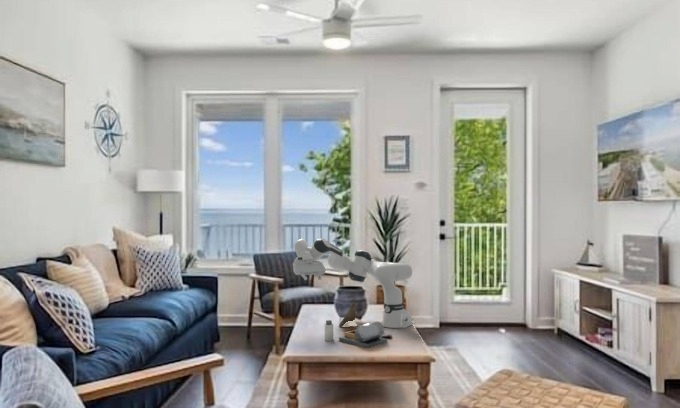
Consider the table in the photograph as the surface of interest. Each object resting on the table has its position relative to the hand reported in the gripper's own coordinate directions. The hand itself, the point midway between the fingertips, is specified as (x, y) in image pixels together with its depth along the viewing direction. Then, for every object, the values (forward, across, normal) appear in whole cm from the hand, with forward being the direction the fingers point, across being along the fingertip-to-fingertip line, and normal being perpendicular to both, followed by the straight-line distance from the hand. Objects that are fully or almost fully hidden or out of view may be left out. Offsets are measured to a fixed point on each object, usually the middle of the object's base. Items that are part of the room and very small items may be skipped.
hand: (313, 279), depth 348 cm
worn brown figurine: (+19, -28, -24) cm, 42 cm away
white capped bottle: (+37, -2, -9) cm, 38 cm away
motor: (+46, -16, +2) cm, 48 cm away
